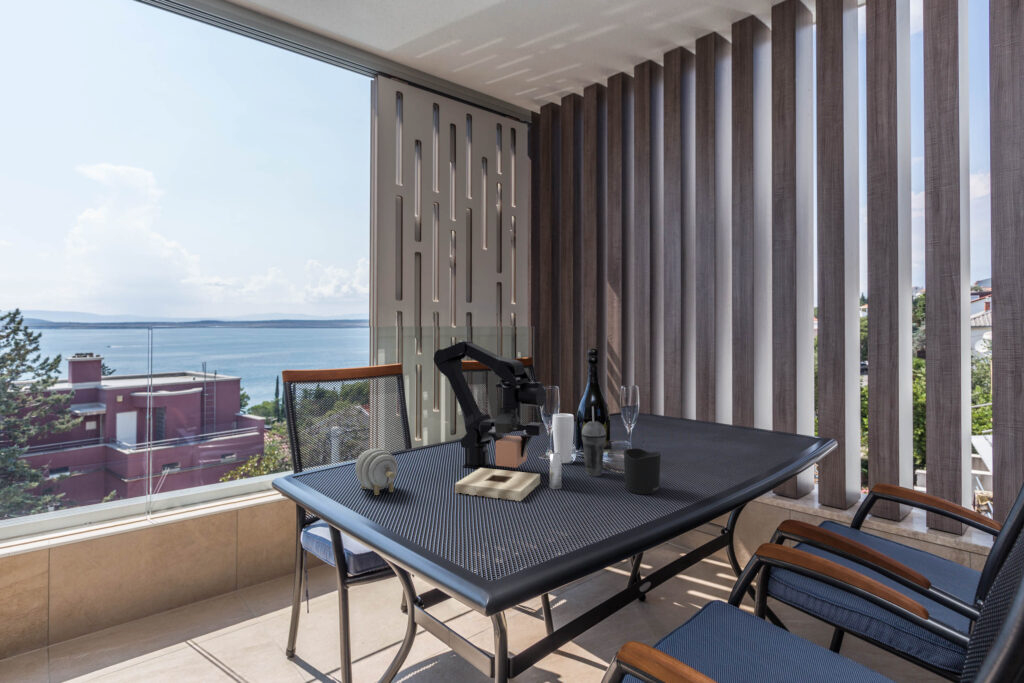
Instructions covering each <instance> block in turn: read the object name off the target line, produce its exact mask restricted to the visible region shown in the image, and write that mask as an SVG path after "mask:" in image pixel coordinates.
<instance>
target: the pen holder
mask: <svg viewBox="0 0 1024 683" xmlns="http://www.w3.org/2000/svg"><path fill="white" fill-rule="evenodd" d="M661 458H662V457H661V452H660V451H655V452H650V451H646V450H644V449H642V448H636V447H635V448H627V449H625V450H624V451H623V462H624V465H623V466H624V469H623V471H624V487H625V490H626V489H627V490H628V491H627V490H626V491H627V492H629V491H630V492H629V493H631V492H633V493H632V494H635V493H638V494H637V495H641V494H650V495H654V493H655V494H656V492H657V493H658V492H659V490H660V476H661V472H660V471H661Z"/></svg>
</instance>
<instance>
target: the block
mask: <svg viewBox="0 0 1024 683" xmlns="http://www.w3.org/2000/svg"><path fill="white" fill-rule="evenodd" d="M521 446H522V439H521V435H509V434H508V435H505V436H503V438H501V439H499V440H497V441H496V443H495V466H498V467H505V468H507V467H508V468H509V467H510V468H518V467H519V466H521V465H522V464H524V463H525V462H526V461H527V460H528V448H527V449H526V452H525V454H524V457H521Z"/></svg>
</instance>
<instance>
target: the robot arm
mask: <svg viewBox="0 0 1024 683" xmlns="http://www.w3.org/2000/svg"><path fill="white" fill-rule="evenodd" d="M467 357H468V358H470V359H472V360H474V361H476V362H477V363H479V364H482V365H484V366H485V367H487V368H489V369H490V370H492V371H493V373H494V374H495V375H496V376H497V377H498V378H500V380H499V382H498V383H497V384H495V387H496V388H499V389H500V388H501V407H500V410H499V414H498V416H497V417H496V418H495V419H492V417H491V415H490V414H489V413H486V414H484V413H483V412H481V410H480V408H479V406H478V403H477V401H476V398H475V397H474V395H473V393H472V391H471V389H470V386H469V385H468V382H467V380H466V378H465V375H464V373H463V370H462V369H463V361H462V360H463V359H466V358H467ZM433 362H434V364H435V366H436V368H437V369H438V371H439V372H440V373H441V374H442V375H444V377H446V378H447V380H448V382H449V384H450V387H451V388H452V390H453V393H454V395H455V398H456V399H457V403H458V404H459V406H460V409H461V410H462V413H463V415H464V417H465V424H464V428H465V432H466V434H464V436H463V437H462V438H461V439H460V445H461V447H462V448H464V463H463V464H462V467H464V468H472V469H479V468H486V466H488V465H490V460H489V459H490V458H489V454H490V452H489V449H488V445H490V444H491V441H492V439H493V441H494V443H495V444H496V441H497V440H499V439H501V438H503V437H504V434H510V433H511V432H512V431H516V432H517V431H519V432H523V433H522V435H520V436H521V439H522V446H521V457H524V454H525V452H526V449H527V450H528V446H529V444H530V441H531V440H532V438H533V437H535V436H541V435H542V434H544V433H545V425H544V423H543V422H537V421H536V422H534V421H532V422H529V423H528V424H523V421H524V419H522V410H524V408H523V405H524V406H532V407H543V406H544V405H545V403H546V401H547V391H546V389H545V388H544V386H543V382H541V381H537V382H533V380H531V377H530V376H529V375H528V372H527V371H526V370H525V367H524V363H523V362H522V361H520V360H517V359H513V358H508V357H503V356H499V355H498V354H496V353H494V352H491V351H489V350H488V349H486V348H484V347H481V346H480V345H478V344H475V343H474V342H473V341H471V340H460V341H459V342H457V343H455V344H453V345H450V346H448V347H445V348H442V349H437V350H436V351H435V352H434V356H433Z"/></svg>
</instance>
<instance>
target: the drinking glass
mask: <svg viewBox="0 0 1024 683" xmlns="http://www.w3.org/2000/svg"><path fill="white" fill-rule="evenodd" d="M574 420H575V416H574V414H572V413H562V412H561V413H560V412H559V413H554V414H552V422H551V423H552V437H553V438H552V439H553V451H554V452H553V453H561V454H562V464H569V463H571V462H572V454H573V453H572V451H573V444H574V443H573V442H574V441H573V440H574V439H573V438H574V430H575V428H574V427H575V421H574Z"/></svg>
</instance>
